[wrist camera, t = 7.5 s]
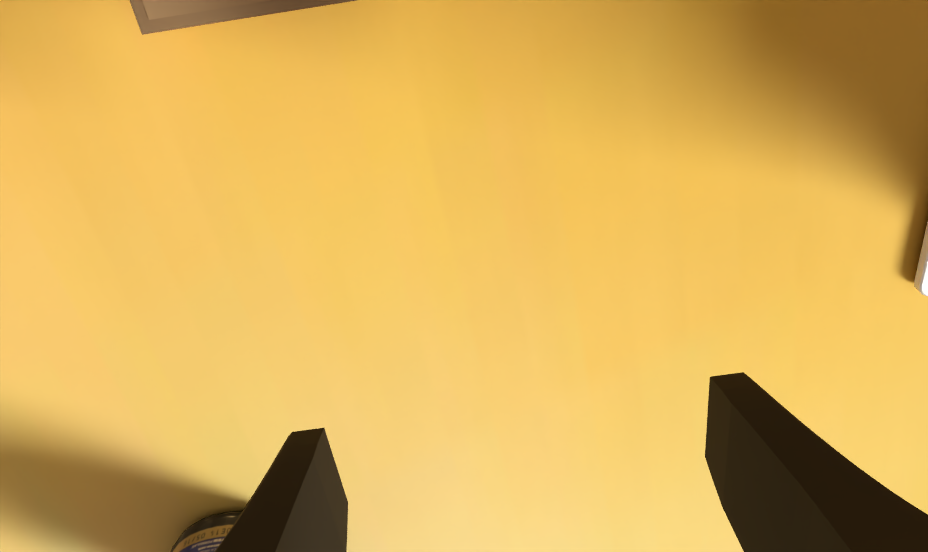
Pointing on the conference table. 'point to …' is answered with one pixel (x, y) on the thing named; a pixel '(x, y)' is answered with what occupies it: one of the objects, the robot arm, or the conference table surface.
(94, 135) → the conference table surface
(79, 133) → the conference table surface
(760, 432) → the robot arm
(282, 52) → the conference table surface
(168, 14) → the walnut box
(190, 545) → the pill bottle
